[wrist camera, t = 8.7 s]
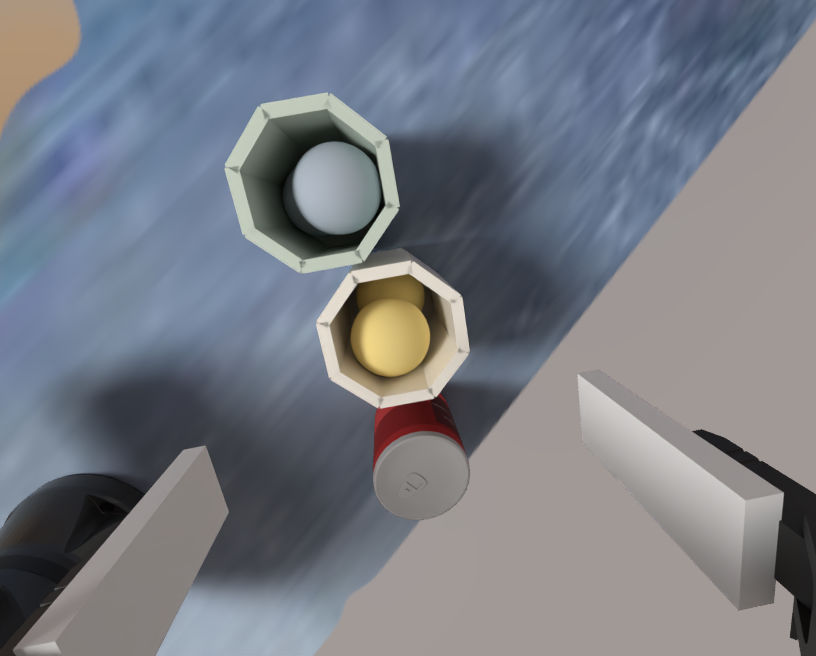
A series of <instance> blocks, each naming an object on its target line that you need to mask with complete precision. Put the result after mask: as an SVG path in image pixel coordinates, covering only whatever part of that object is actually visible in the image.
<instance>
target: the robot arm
mask: <svg viewBox="0 0 816 656" xmlns="http://www.w3.org/2000/svg"><path fill="white" fill-rule="evenodd" d="M578 385H579V386H578V387H579V403H580V418H581V433H582V443H583V444H584V445H585V446H586V447H587V448H588V449H589V450H590V451H591V452H592V453H593V455H594V456H595V457H596V458H597V459H598V460H599V461H600V462H601V463H602V464H603V465H604V466H605V468H607V470H608V471H609V472H610V473H611V474H612V475H613V476H614V477H615V478H616V479H617V480H618V481H619V483H620V484H621V485H622V486H623V487H624V488H625V489H626V490H627V491H628V492H629V493H630V494H631V495H632V497H633V498H634V499H635V500H636V501H637V502H638V503H639V504H640V505H641V506H642V507H643V508H644V509H645V510H646V512H647V513H648V514H649V515H650V516H651V517H652V518H653V519H654V520H655V521H656V522H657V523H658V524H659V525H660V526H661V528H662V529H663V530H664V531H665V532H666V533H667V534H668V535H669V536H670V537H671V538H672V539H673V541H674V542H675V543H676V544H677V545H678V546H679V547H680V548H681V549H682V550H683V551H684V552H685V553H686V554H687V556H688V557H689V558H690V559H691V560H692V561H693V562H694V563H695V564H696V565H697V566H698V567H699V568H700V570H701V571H702V572H703V573H704V574H705V575H706V576H707V577H708V578H709V579H710V580H711V581H712V582H713V583H714V585H715V586H716V587H717V588H718V589H719V590H720V591H721V592H722V593H723V594H724V595H725V596H726V597H727V598H728V599H729V601H730V602H731V603H732V604H733V605H734V606H735V607H736V608H737V609H738V610H743V609H748V608H753V607H757V606H762V605H767V604H771V603H774V595H775V584H776V580H777V581H778V582H779V583H780V584H781V585H782V586H784V587H785V588H786V589H787V590H788V591H789V592H790V593H791V594H792V595H794V605H793V613H792V623H791V631H790V638H793V639H795V640H797V639H798V640H799V647H800V652H801V656H816V494H814V493H813V492H811V491H810V490H808V489H806V488H805V487H803V486H802V485H800V484H798V483H797V482H795V481H794V480H792V479H790V478H789V477H787V476H786V475H784V474H782V473H781V472H779V471H778V470H776V469H774V468H773V467H771V466H769V465H768V464H766V463H765V462H763V461H759V460H758V458H757V457H755V456H753V455H752V454H750V453H748V452H747V451H746V452H744V451H743V449H742V448H740V447H739V446H737V445H736V444H734V443H732V442H730V441H729V440H727V439H726V438H724V437H721V436H719V435H715V434H713V433H710V432H707V431H705V430H702V429H701V430H696V431H690V430H689V429H687V428H686V427H684V426H683V425H681V424H680V423H678V422H677V421H675V420H674V419H672V418H671V417H669V416H667V415H666V414H665V413H663V412H662V411H660V410H659V409H657V408H656V407H654V406H653V405H651V404H650V403H648V402H647V401H645V400H644V399H642V398H641V397H639V396H638V395H636V394H634V393H633V392H631V391H630V390H629V389H627V388H625V387H624V386H623V385H621V384H620V383H618V382H616V381H615V380H613V379H612V378H610V377H609V376H607V375H606V374H604V373H603V372H601V371H600V370H595V371H590V372H584V373H579V374H578ZM228 513H229V511H228V508H227V505H226V502H225V499H224V496H223V493H222V491H221V488H220V485H219V482H218V479H217V476H216V473H215V471H214V468H213V465H212V462H211V459H210V456H209V453H208V451H207V448H206V446H201V447H196V448H190V449H185V450H183V451H182V452H181V453H180V454H179V456H178V457H177V458H176V459H175V460H174V462H173V463H172V464H171V465H170V466H169V467H168V469H167V470H166V471H165V472H164V473H163V474H162V476H161V477H160V478H159V479H158V480H157V481H156V483H155V484H154V485H153V486H152V487H151V488H150V490H149V491H148V492H147V493H146V494H145V496H144V495H143V494H142V493H140V492H139V491H137V490H136V489H134V488H133V487H131V486H129V485H127V484H125V483H123V482H120V481H117V480H115V479H111V478H108V477H103V476H97V475H72V476H66V477H62V478H58V479H55V480H53V481H50V482H48V483H46V484H45V485H43V486H41V487H40V488H38V489H37V490H36V491H35V492H33V493H32V494H31V495H30V496H28V497H27V498H26V499H24V500H23V501H22V502H21V503H20V504H19V505H18V506H17V507H16V508H15V509H14V510H13V511H12V512H11V513H10V515H9V516H8V518H7V520H6V521H5V523H4V525H3V527H2V528H1V529H0V656H156V654H157V652H158V650H159V648H160V646H161V644H162V642H163V640H164V638H165V636H166V634H167V632H168V630H169V628H170V626H171V624H172V622H173V620H174V619H175V617H176V615H177V613H178V611H179V609H180V607H181V605H182V603H183V601H184V599H185V597H186V595H187V593H188V591H189V589H190V587H191V585H192V583H193V581H194V579H195V578H196V576H197V574H198V572H199V570H200V568H201V566H202V564H203V562H204V560H205V558H206V556H207V554H208V552H209V550H210V548H211V546H212V544H213V542H214V540H215V538H216V537H217V535H218V533H219V531H220V529H221V527H222V525H223V523H224V521H225V519H226V517H227V515H228Z"/></svg>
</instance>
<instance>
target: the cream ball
mask: <svg viewBox="0 0 816 656" xmlns="http://www.w3.org/2000/svg"><path fill="white" fill-rule="evenodd" d="M387 297H394V298H400V299H403V300H406V301H408V302H410V303H412V304H413V305H414V306H416V307H417V308H418V309H419V310H420V311H422V309H423V305H424V300H425V293H424V288H423V284H422V282H420V281H419V280H417V279H416V278H414V277H413V276H412V275H410V274H405V275H399V276H394V277H389V278H383V279H378V280H372V281H367V282H361V283H359V285H358V288H357V305H358V308H359V310H360V311H361V310H362V309H363V308H364V307H365V306H366V305H368V304H369V303H371V302H373V301H375V300H378V299H381V298H387Z"/></svg>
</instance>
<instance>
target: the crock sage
mask: <svg viewBox="0 0 816 656" xmlns="http://www.w3.org/2000/svg"><path fill="white" fill-rule="evenodd" d="M335 141H336V142H344V143H347V144H350V145H353V146H355V147H357V148H358V149H360V150H361V151H363V152H364V153H365V154H366V155H367V156H368V157H369V158H370V159H371V161H372V162H373V163H374V165H375V167H376V169H377V171H378V174H379V177H380V180H381V187H382V195H381V201H380V205H379V208H378V210H377V212H376V214H375V216H374V217H373V219H372V220H371V221H370V222H369V223H368V224H367V225H366V226H364V227H363V228H362V229H360V230H358V231H356V232H353V233H350V234H344V235H332V236H327V237H318V236H313V235H310V234H307V233H305V232H303V231H302V230H300V229H299V228H298V227H296V226H295V225H294V224H293V222H292V221H291V220H290V218H289V217H288V215H287V213H286V211H285V208H284V204H283V187H284V183H285V181H286V179H287V177H288V175H289V174H290V173H291V171H292V170H293V169H294V168H296V166H297V164H298V162H299V160H300V159H301V158H302V156H303V155H304V154H305V153H306V152H307V151H309V150H310V149H311V148H313V147H315V146H317V145H319V144H322V143H325V142H335ZM225 166H227V167H228V168H224V169H225V172H226V176H227V180H228V183H229V187H230V190H231V194H232V198H233V201H234V205H235V208H236V212H237V216H238V219H239V223H240V226H241V230H242V234H243V235H246V236H245V238H247V239H248V240H250V241H251V242H253V243H254V244H256V245H257V246H259V247H260V248H262V249H263V250H265V251H267V252H268V253H270V254H271V255H273V256H274V257H276V258H277V259H279V260H280V261H282V262H283V263H285V264H286V265H288V266H289V267H291V268H293V269H294V270H296V271H297V272H299V273H300V272H302V274H303V273H309V272H314V271H320V270H325V269H331V268H336V267H342V266H347V265H353V264H358V263H362V262H363V261H365V260H366V258H367V257H368V255H369V254H370V252H371V251H372V249H373V248H374V246H375V245H376V243H377V242H378V240H379V239H380V237H381V236H382V234H383V233H384V231H385V230H386V228H387V227H388V225H389V224H390V222H391V221H392V219H393V218H394V217H395V215H396V214H397V212H398V211H399V209H398V208H399V207H400V204H399V198H398V193H397V187H396V181H395V175H394V169H393V163H392V157H391V152H390V146H389V140H388V139H387V136H385V135H384V134H383V133H381V132H380V131H379V130H378V129H376V128H375V127H374V126H372V125H371V124H370V123H369V122H367V121H366V120H365V119H363V118H362V117H361V116H359V115H358V114H357V113H356V112H354V111H353V110H352V109H350V108H349V107H348V106H347V105H345V104H344V103H343V102H341V101H340V100H339V99H337V98H336V97H335V96H334V95H332V94H330V95H329V94H328V93H322V94H316V95H311V96H305V97H299V98H293V99H288V100H282V101H276V102H270V103H264V104H261V107H259V106H258V107H257V109H256V111H255V113H254V114H253V116H252V118H251V120H250V121H249V123H248V125H247V127H246V128H245V130H244V132H243V134H242V135H241V137H240V139H239V141H238V143H237V144H236V146H235V148H234V150H233V151H232V153H231V155H230V157H229V158H228V160H227V162H226V164H225Z"/></svg>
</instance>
